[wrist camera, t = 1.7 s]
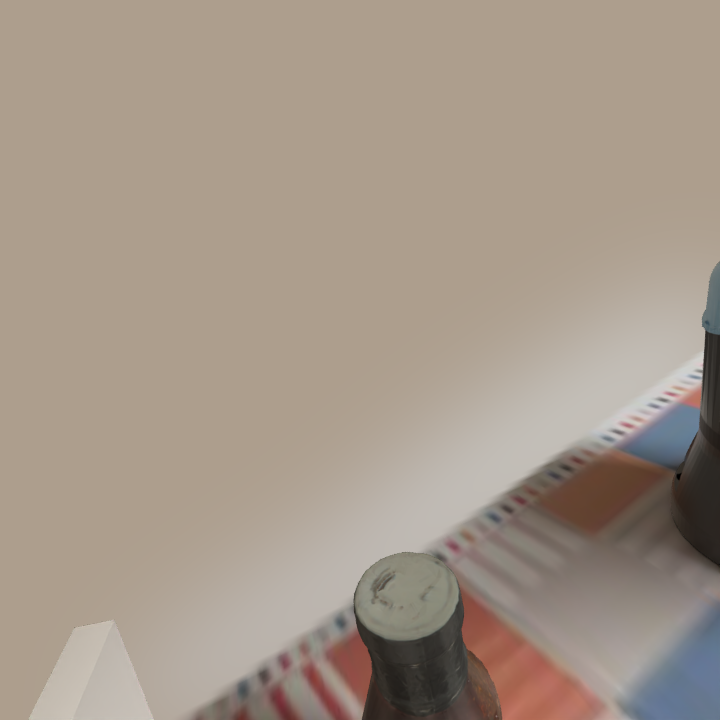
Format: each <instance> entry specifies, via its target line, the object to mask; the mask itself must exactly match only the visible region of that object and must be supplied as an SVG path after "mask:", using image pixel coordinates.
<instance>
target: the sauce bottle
mask: <svg viewBox="0 0 720 720" xmlns="http://www.w3.org/2000/svg"><path fill="white" fill-rule="evenodd" d="M354 613H355V617H356V624H357V628H358V631H359V634H360V636H361V638H362V641H363V642H364V644H365V645H366V646H367V648H368V652H369V654H370V657H371V661H372V676H371V680H370V685H369V690H368V694H367V699H366V703H365V708H364V712H363V717H362V720H502V712H501V707H500V702H499V698H498V694H497V691H496V688H495V685H494V683H493V681H492V679H491V678H490V675H489V673H488V671H487V669H486V668H485V667H484V665H483V663H482V662H481V661H480V660H479V659H478V658H477V657H476V656H475V655H474V654H473V653H472V652H471V651H469V650H467V649H466V646H465V644H464V642H463V638H462V632H461V628H462V624H463V619H464V607H463V603H462V597H461V592H460V588H459V584H458V581H457V579H456V577H455V575H454V574H453V572H452V571H451V570H450V569H449V568H448V567H447V566H446V565H445V564H444V563H443V562H442V561H441V560H439V559H437V558H435V557H433V556H431V555H427V554H423V553H413V552H412V553H411V552H402V553H398V554H394V555H391V556H388V557H385V558H383V559H381V560H379V561H378V562H376V563H375V564H374V565H372V566H371V567H370V568H369V569H368V570H366V571H365V573H364V574H363V576H362V578H361V580H360V581H359V583H358V586H357V588H356V591H355V593H354Z"/></svg>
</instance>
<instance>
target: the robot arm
mask: <svg viewBox="0 0 720 720" xmlns="http://www.w3.org/2000/svg"><path fill="white" fill-rule="evenodd" d="M708 290H709V291H708V297H707V305H706V310H705V312H704V314H703V316H702V327H704V328H705V330H706V331H705V347H704V361H703V376H702V390H701V404H700V422H699V430H698V432H697V434H696V435H695V437H694V439H693V441H692V443H691V445H690V447H689V449H688V451H687V453H686V456H685V459H684V462H683V463H682V464H681V465H680V466H679V468H678V469H677V471H676V473H675V476H674V479H673V483H672V492H671V511H672V515H673V518H674V521H675V523H676V525H677V527H678V528H679V530H680V532H681V533H682V534H683V535H684V537H685V538H686V539H687V540H688V541H689V542H690V543H691V544H692V545H693V546H694V547H695V548H696V549H697V550H699V551H700V552H701V553H702V554H704V555H705V556H706V557H708V558H709V559H711V560H712V561H714V562H715V563H717V564H719V565H720V261H719V262H718V263H717V265H716V266H715V268H714V269H713V271H712V274H711V277H710V281H709V289H708ZM28 720H154V718H153V716H152V713H151V711H150V708H149V705H148V703H147V700H146V698H145V695H144V693H143V691H142V688H141V685H140V683H139V680H138V678H137V675H136V673H135V670H134V668H133V665H132V663H131V660H130V658H129V655H128V653H127V650H126V648H125V646H124V643H123V640H122V638H121V635H120V633H119V630H118V628H117V625H116V623H115V620H110V621H105V622H100V623H95V624H90V625H85V626H80V627H75V628H74V629H73V631H72V633H71V635H70V637H69V639H68V641H67V644H66V645H65V647H64V650H63V651H62V654H61V655H60V657H59V659H58V661H57V663H56V665H55V667H54V670H53V671H52V673H51V675H50V677H49V679H48V681H47V683H46V685H45V687H44V690H43V691H42V694H41V695H40V698H39V699H38V701H37V703H36V705H35V707H34V709H33V711H32V713H31V715H30V717H29V719H28Z"/></svg>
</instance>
